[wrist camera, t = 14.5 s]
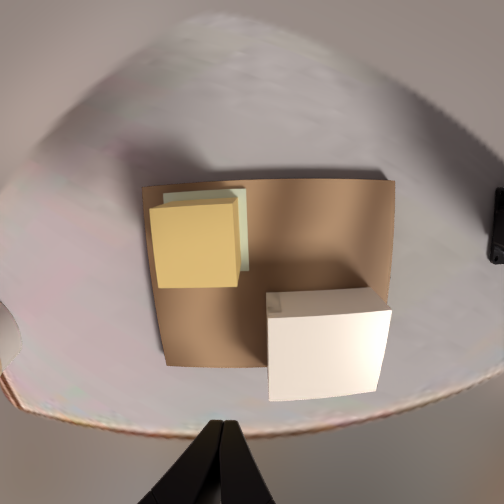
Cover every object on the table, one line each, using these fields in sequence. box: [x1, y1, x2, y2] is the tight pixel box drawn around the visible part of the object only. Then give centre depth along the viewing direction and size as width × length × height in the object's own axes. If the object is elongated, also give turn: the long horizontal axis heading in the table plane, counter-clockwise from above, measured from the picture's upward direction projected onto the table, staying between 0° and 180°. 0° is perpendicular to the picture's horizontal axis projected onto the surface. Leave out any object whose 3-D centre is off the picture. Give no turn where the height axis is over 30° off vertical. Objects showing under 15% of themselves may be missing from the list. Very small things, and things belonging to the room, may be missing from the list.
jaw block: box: [149, 197, 241, 288], centre depth 16 cm, size 4×4×4 cm
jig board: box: [142, 179, 395, 368], centre depth 18 cm, size 16×13×3 cm
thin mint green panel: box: [163, 188, 249, 271], centre depth 18 cm, size 5×5×1 cm
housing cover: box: [266, 287, 392, 402], centre depth 18 cm, size 7×6×4 cm
